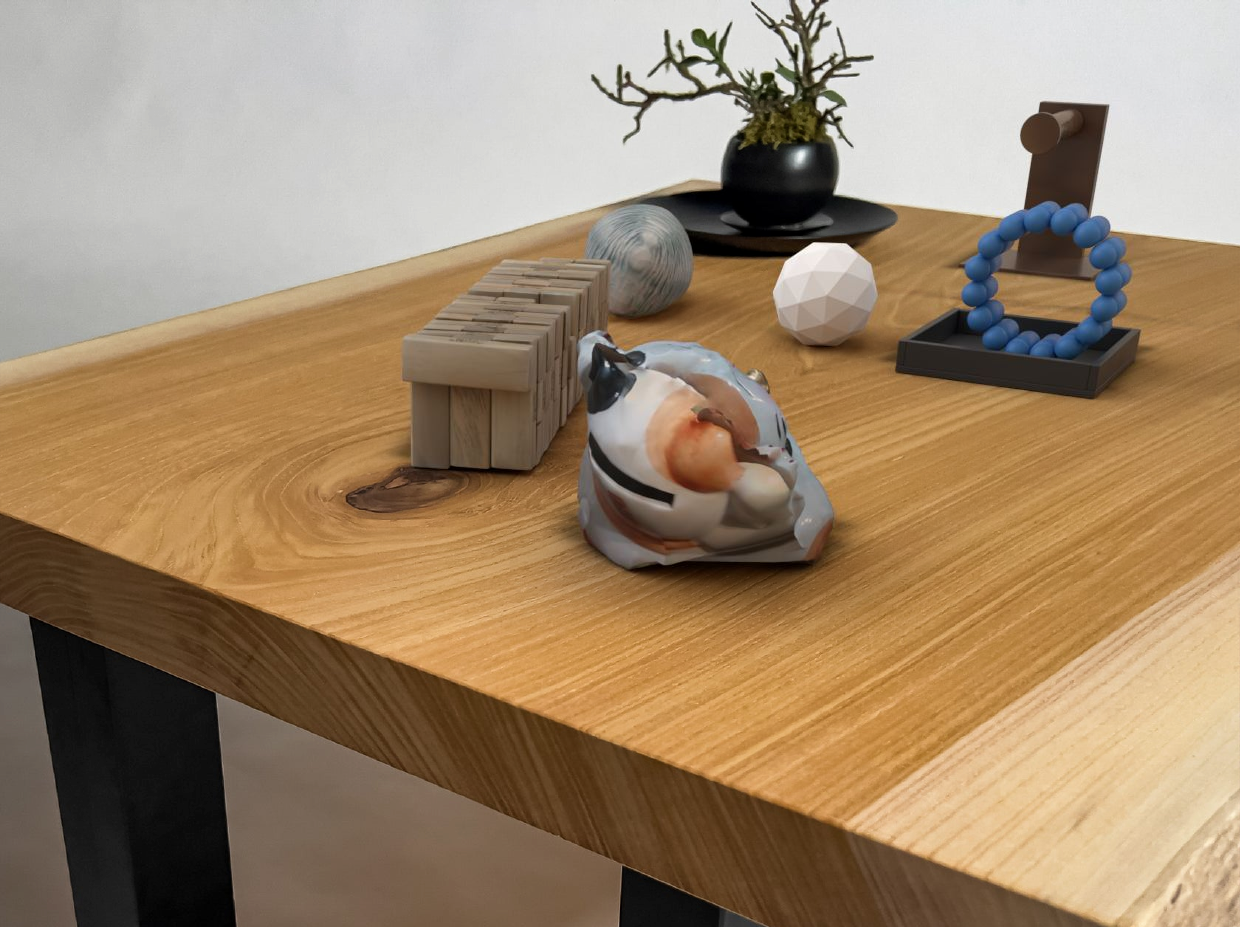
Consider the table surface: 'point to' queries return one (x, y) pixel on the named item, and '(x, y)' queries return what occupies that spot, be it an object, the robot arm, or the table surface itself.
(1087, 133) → the bracelet rack
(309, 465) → the table surface
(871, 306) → the geometric ball
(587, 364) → the lucky cat figurine
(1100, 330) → the blue beaded bracelet
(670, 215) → the grey streaked rounded piece
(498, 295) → the block tower
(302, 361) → the table surface
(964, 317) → the tray
